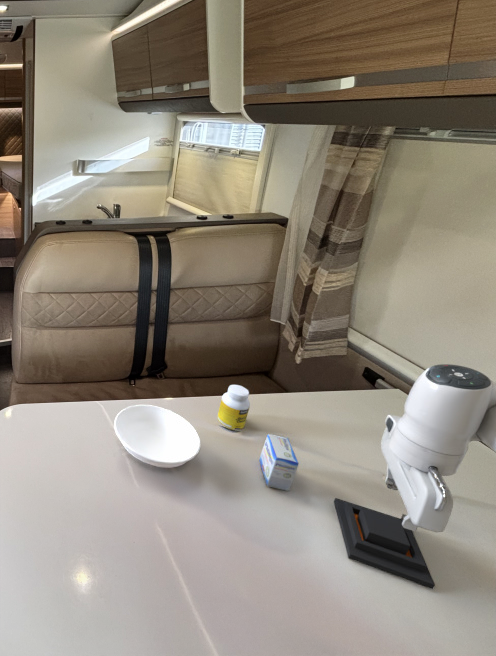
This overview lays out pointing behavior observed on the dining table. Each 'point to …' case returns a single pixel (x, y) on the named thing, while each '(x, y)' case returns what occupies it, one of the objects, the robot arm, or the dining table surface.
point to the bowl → (157, 435)
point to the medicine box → (278, 462)
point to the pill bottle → (234, 408)
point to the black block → (383, 531)
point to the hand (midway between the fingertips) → (398, 505)
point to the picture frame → (381, 548)
